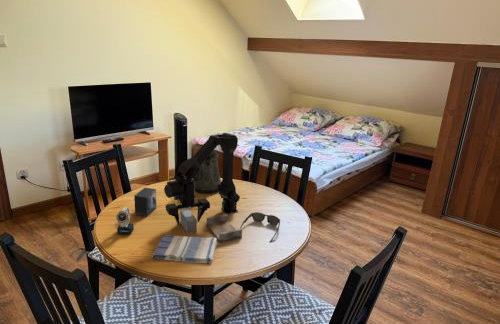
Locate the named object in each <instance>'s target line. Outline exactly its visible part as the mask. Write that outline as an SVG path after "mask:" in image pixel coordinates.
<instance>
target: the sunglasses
mask: <svg viewBox="0 0 500 324" xmlns="http://www.w3.org/2000/svg"><path fill="white" fill-rule="evenodd" d="M250 218H252V219H253V221H254V222H257V223H261V222H263V221H264V220H265V218H266V221H267V223H268V224H269V225H272V226H275V227H277V229H276V231H275V233H274V235H273V236H272V238H271V239H270V240H269V242H268V243H271V242H272V241H273V240H274V238H275V236H276V235H277V233H278V231H279V229H280V225H281V219H280V218H279V217H278V216H276V215H273V214H264V213H263V212H259V211H258V212H256V211H255V212H251V213H250V214H248V215H247V217H246V218H245V219H244V220H243V221H242V223H241V224H240V228H239V229H242V227H243V226H244V224H245V223H247V221H248V220H249V219H250Z"/></svg>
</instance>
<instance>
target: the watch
mask: <svg viewBox="0 0 500 324" xmlns="http://www.w3.org/2000/svg"><path fill="white" fill-rule="evenodd" d="M115 219H116V221H117V224H118V226H117V228H116V230H117V235H124V236H127V235H128V236H131V235H132V233H133V232H134V230H135V229H134V228H135V227H134V223H132V222H131V223H130V220H131V212H130V208H129V207H122V208H120V210H119V211H118V213H117V214H116V217H115Z"/></svg>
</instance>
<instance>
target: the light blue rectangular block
mask: <svg viewBox="0 0 500 324" xmlns="http://www.w3.org/2000/svg"><path fill="white" fill-rule="evenodd" d="M179 223H180V224H181V226H182V227H183V228H184V230H185V231H186V233H187V234H192V233H197V231H198V230H197V229H198V226H197V225H198V221H197V217H195V215H194V214H193V212H191V210H190V208H187V209H181V210H179Z"/></svg>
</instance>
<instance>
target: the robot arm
mask: <svg viewBox="0 0 500 324" xmlns="http://www.w3.org/2000/svg"><path fill="white" fill-rule="evenodd" d="M238 143H239V138H238V137H237V136H236V135H235V134H231V133H227V132H222V134H220V133H219V134H211V135H209V137H208V139H207V140H206V141H205V143H203V144H202V145H201V146H200V148H199V149H198V150H197V151H196V152H195V153H194V155H193V156H192V157H190V158H188V159H186V160H184V161H183V162H182V163H181V164H180V165H179V167H178V169H177V171H176V173H175V175H174V176H173V179H174V180H168V181H167V182H166V184H165V186H164V188H163V190H164V194H165V196H166V197H167V198H168V199H171V198H173V199H174V200H175V201H178V202H179V203H180V204H179V205H177V204H176V203H175V202H173V203H167V204H166V205H165V211H166V213H167V214H168V215H169V216H171V217H174V219H175V223H176V224H177V226H178V227H180V213H179V211H181V210H187V209H192V208H193V209H194V208H197V214H196V215H197V216H196V219H197V223H199V222H200V221H201V218H202V217H203V216H204V214H205V212H206V211H208V209H211V203H210V201H209V199H207V198H206V197H204V198H203V197H202V198H198V199H197V202H196V197H197V196H196V194H195V193H196V191H195V181H198V180H199V179H198V178H197V177H196V175H197V174H198V172H199V171H200V166H201V164H202V163H203V162H204V161H205V159H206V158H207V157H208V156H209V155H210V154H211V153H212V151H213V150H214V151H215V149H216V148H217V147H218V146H219V147H220V149H221V151H222V180H221V183H220V184H218V191H217V192H216V193H218V195H219V197H220V198H221V199H222V202H221V210H222V211H223V212H224V213H225V214H227V215H229V214H234V213H238V212H239V210H238V209H237V203H238V202H239V201H240V199H241V196H240V195H239V194H238V193H237V191H236V190H237V189H236V188H237V187H236V185H235V183H234V180H233V178H234V153H235V151H236V149H237V148H238Z"/></svg>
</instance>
